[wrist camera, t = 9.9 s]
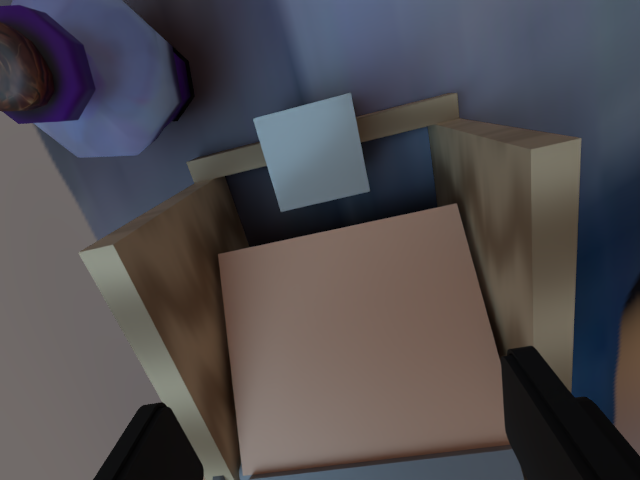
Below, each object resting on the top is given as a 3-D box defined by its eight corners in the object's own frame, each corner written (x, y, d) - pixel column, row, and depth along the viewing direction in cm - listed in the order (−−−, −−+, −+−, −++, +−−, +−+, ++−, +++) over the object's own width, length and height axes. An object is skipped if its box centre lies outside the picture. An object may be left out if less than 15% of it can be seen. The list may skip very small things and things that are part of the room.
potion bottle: (63, 46, 23) (-200, -3, 11) (169, -23, 21) (-22, -160, 10) (141, 165, 25) (-10, 217, 14) (240, 113, 24) (154, 126, 13)
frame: (475, 377, 32) (567, 565, 19) (289, 404, 34) (261, 586, 21) (447, 93, 22) (590, 86, 10) (197, 157, 25) (51, 219, 12)
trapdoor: (533, 539, 18) (575, 604, 14) (275, 559, 20) (250, 621, 16) (448, 218, 22) (462, 199, 18) (238, 261, 24) (210, 253, 20)
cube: (362, 173, 23) (346, 95, 21) (370, 191, 18) (350, 92, 16) (291, 190, 23) (270, 115, 22) (280, 211, 19) (252, 118, 17)
